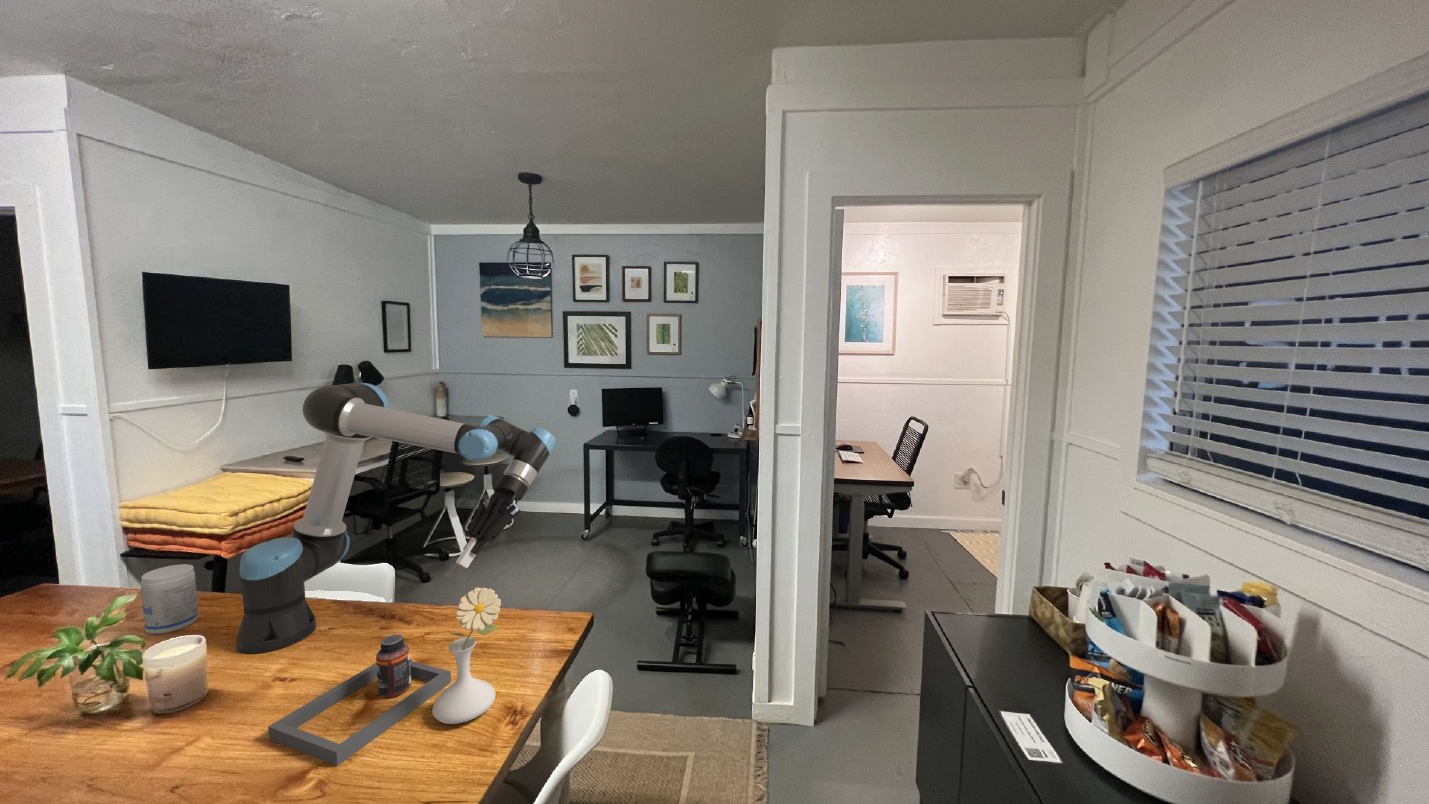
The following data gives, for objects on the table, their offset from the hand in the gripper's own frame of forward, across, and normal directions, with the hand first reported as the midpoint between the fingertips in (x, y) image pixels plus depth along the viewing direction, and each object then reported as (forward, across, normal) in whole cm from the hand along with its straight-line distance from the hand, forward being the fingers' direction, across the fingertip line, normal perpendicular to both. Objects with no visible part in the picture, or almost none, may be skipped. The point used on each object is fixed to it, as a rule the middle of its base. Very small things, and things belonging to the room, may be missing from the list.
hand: (461, 565), depth 122 cm
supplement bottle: (+27, -1, -2) cm, 27 cm away
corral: (+31, -2, +2) cm, 31 cm away
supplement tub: (+36, +75, +7) cm, 83 cm away
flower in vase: (+24, -20, -5) cm, 32 cm away
